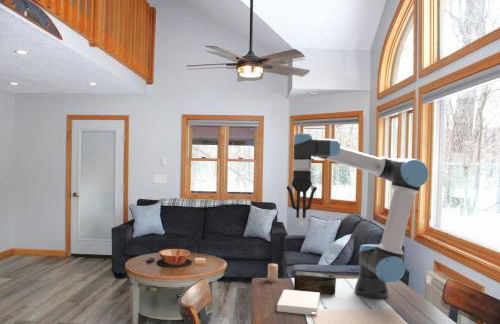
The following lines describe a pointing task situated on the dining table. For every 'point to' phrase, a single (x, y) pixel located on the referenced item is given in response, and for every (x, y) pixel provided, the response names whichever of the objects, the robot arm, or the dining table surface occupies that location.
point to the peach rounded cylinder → (272, 272)
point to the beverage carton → (315, 282)
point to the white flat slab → (298, 302)
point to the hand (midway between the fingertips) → (300, 225)
